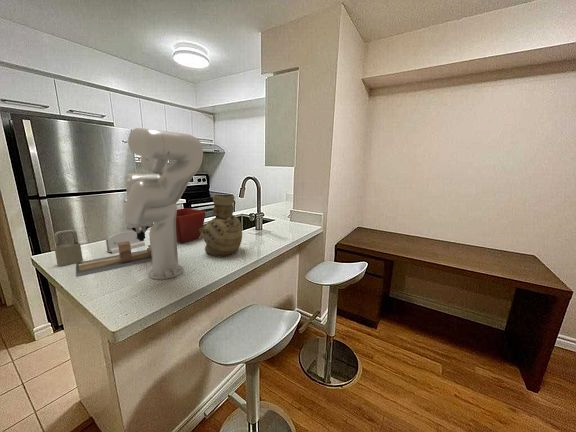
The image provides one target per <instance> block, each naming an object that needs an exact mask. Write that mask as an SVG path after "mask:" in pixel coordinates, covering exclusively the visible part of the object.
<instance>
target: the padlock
mask: <svg viewBox="0 0 576 432" xmlns="http://www.w3.org/2000/svg"><path fill="white" fill-rule="evenodd" d="M65 234H72V239H73V242H72V243H67V244H61V245H60V235H65ZM53 239H54V242H55V245H57V246H54V247H53V248H54V253H55V259H56V263H57V266H58V267H63V266H68V265H73V264H76V263H77V262H83V261H84V258H83V252H82V246H81V243H80V242H79V239H78V232H77V230H74V229H66V230H61V231H60V230H59V231H56V232H55V233H54V235H53Z"/></svg>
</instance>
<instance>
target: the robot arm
mask: <svg viewBox="0 0 576 432" xmlns="http://www.w3.org/2000/svg"><path fill="white" fill-rule="evenodd" d="M127 141H128V142H127V143H128V148H129V150H130V151H131V152H132V153H133V154H135V155H137V156H139V157H140V164H141V165H142V166H143V168H144V169H145V170H147V172H150V173H127V174H125V176H124V177H125V178H124V179H125V188H126V189H125V190H126V196H127V197H126V198H125V199H123V204H125V205H124V211H123V212H124V218H125V222H126V226H125V227H126V228H125V229H126V230H127V231H135V232H136V233H137V239H139V241H143V242H144V241H145V239H146V231H148V229H149V245H150V247H151V257H152V261H151V266H152V269H151V270H149V271H148V277H149V278H150V279H153V280H166V279H172V278H174V277H177V276H179V275H181V274H182V273H183V271H184V267H183V266H182V265H180V263H179V253H178V242H177V238H176V215H177V209H178V205H177V202H179V200H181V197H182V196H183V194H184V192H185V191H186V189H187V187H188V184H189V183H190V181H191V180H192V179H193V177H194V176H195V175H196V174H197V172H198V171H199V169H200V168H201V164H202V163H203V157H204V148H203V145H202V142H201V141H200V140H199V139H198V138H197V137H196V136H193V135H191V134H188V133H181V132H177V131H176V132H175V131H167V130H160V129H159V130H157V129H149V128H142V127H141V128H140V127H136V128H133V129H132V130H131V131H130V132H129V134H128V139H127ZM170 160H175V161H174V162H172V163H170V164H169V165H168V166H167V164H168V163H169V161H170ZM140 228H141V230H140Z"/></svg>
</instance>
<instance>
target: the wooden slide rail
mask: <svg viewBox="0 0 576 432" xmlns="http://www.w3.org/2000/svg"><path fill="white" fill-rule="evenodd" d="M142 252H147V249H143V250H137V251H133V252H132V251H131V254H137V253H142ZM115 257H120V255H119V254H117V255H112V256H111V255H110V256H106V257H100V258H94V259H89V260H88V259H87V260H83V261H80V262H77V263H75V275H76V277H82V276H87V275H90V274H91V275H92V274H96V273H100V272H105V271H109V270H115V269H119V268H123V267H129V266H133V265H137V264H143V263H147V262H152V257H144V258H139V259H135V260H131V261H126V262H120V263H115V264H110V265H105V266H100V267H95V268H90V269H85V270H80V271H79V264H83V263H89V262H94V261H99V260H105V259H110V258H115Z"/></svg>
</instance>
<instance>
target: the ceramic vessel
mask: <svg viewBox="0 0 576 432" xmlns="http://www.w3.org/2000/svg"><path fill="white" fill-rule="evenodd" d="M234 200H235V195H233V194H213V195H212V202H213V205H214V207H213V211H212V216H214V218H212V219H211V220H209V221H208V222H207V223H206V225H205V226H203V227H202V228H200V229H199V232H200V237H199V238H200V239H204V242H205V246H204V247H205V248H204V251H205V253H206V254H208V255H210V256H214V257H218V258H224V257H225V258H226V257H230V256H234V255H235V254H236V253H238V251H239V249H240V247H241V244H242V240H243V227H242V223H241V220H240V219H239V218H238V217H236V216H235V215H234V214H233V213H234V209H235V208H234V205H233V204H234Z"/></svg>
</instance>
